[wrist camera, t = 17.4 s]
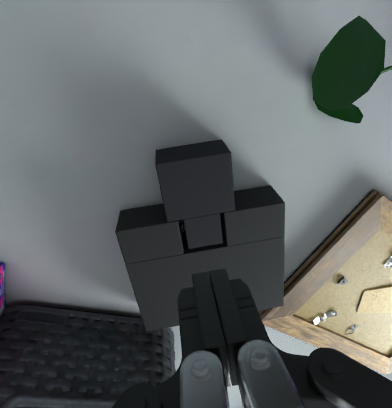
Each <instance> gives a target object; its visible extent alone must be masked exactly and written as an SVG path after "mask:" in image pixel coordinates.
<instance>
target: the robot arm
mask: <svg viewBox="0 0 392 408" xmlns="http://www.w3.org/2000/svg"><path fill="white" fill-rule="evenodd" d="M209 276H210V278H209ZM192 281H193V287H190V288H185V289H181V291H180V293H179V296H178V298H177V303H178V314H179V325H180V336H181V348H182V361H181V364H180V366H179V368H178V370H177V371H176V372H175V373H174V375H173V376H171V377H170V378H169V379H167V380H166V381H164V382H162V383H160V384H159V385H157V386H155V387H154V386H152V385H151V384H148V383H138V384H134V385H132V386H130V387H129V388H128V389H126V390H125V391H124V392H123V393H122V395H121V396H120V397H119V399H118V400H117V401H116V403H115V404H114V405H113V407H112V408H229V400H228V392H227V387H230V379H231V383H232V386H234V385H239V390H240V394H241V398H242V407H243V408H392V381H390V380H389V379H387V378H385V377H383V376H382V375H380V374H378V373H377V372H375V371H373V370H371V369H370V368H368V367H366V366H364V365H363V364H361V363H359V362H357V361H356V360H354V359H352V358H350V357H349V356H347V355H345V354H343V353H342V352H340V351H338V350H335V349H332V348H326V347H324V348H318V349H316V350H314V351H313V352H312V353H311V354H310V356H302V355H294V354H289V353H286V352H283V351H281V350H280V349H278V348H277V347H276V346H274V345H273V343H272V342H271V341H270V339H269V337H268V335H267V332H266V330H265V327H264V325H263V322H262V320H261V317H260V314H259V312H258V309H257V307H256V305H255V302H254V299H253V297H252V294H251V292H250V289H249V287H248V285H247V284H246V283H245V282H244V281H243V280H241V279H240V278H238V279H233V280H229V277H228V274H227V271H226V268H224V269H218V270H213V271H209V274H208V272H203V273H197V274H192ZM228 370H229V371H228ZM229 374H230V379H229Z"/></svg>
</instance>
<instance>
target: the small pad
mask: <svg viewBox="0 0 392 408" xmlns="http://www.w3.org/2000/svg"><path fill="white" fill-rule="evenodd" d="M156 169H157V174H158V179H159V184H160V189H161V194H162V198H163V203H164V208H165V213H166V218H167V222H170V221H176V220H182V219H183V221H184V226H185V232H186V238H187V243H188V248H189V249H191V248H197V247H203V246H209V245H214V244H220V243H223V240H222V230H221V221H220V213H223V212H229V211H234V210H235V200H234V187H233V174H232V161H231V152H230V150H229V149H228V148H227V146H226V145H225V143H224V142H223V141H222V140H215V141H209V142H203V143H197V144H190V145H184V146H178V147H172V148H166V149H159V150H156Z"/></svg>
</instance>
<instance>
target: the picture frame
mask: <svg viewBox="0 0 392 408" xmlns="http://www.w3.org/2000/svg"><path fill="white" fill-rule="evenodd" d="M258 312H259V314H260V317H261V320H262V322H263V325H266V326H268V327H271V328H273V329H275V330H278V331H280V332H283V333H285V334H288V335H290V336H293V337H295V338H298V339H300V340H302V341H305V342H307V343H310V344H312V345H315V346H317V347H320V348H324V347H326V348H332V349H335V350H338V351H340V352H342V353H343V354H345V355H347V356H349V357H350V358H352V359H354V360H356V361H357V362H359V363H361V364H363V365H364V366H366V367H369V368H371V369H374V370H376V371H379V372H381V373H384V374H386V375H388V374H389V373H391V372H392V202H391V201H390V200H389V199H387V198H386V197H385V196H383V195H382V194H380V193H379V192H377V191H376V190H373V191H372V192H371V193H370V195H369V196H368V197H367V198H366V199H365V200H364V201H363V202H362V203H361V204H360V205H359V206H358V207H357V208H356V209H355V210H354V211H353V212H352V213H351V215H350V216H349V217H348V218H347V219H346V220H345V221H344V222H343V223H342V224H341V225H340V226H339V227H338V228H337V229H336V230H335V231H334V232H333V234H332V235H331V236H330V237H329V238H328V239H327V240H326V241H325V242H324V243H323V244H322V245H321V246H320V247H319V248H318V249H317V250H316V251H315V252H314V254H313V255H312V256H311V257H310V258H309V259H308V260H307V261H306V262H305V263H304V264H303V265H302V266H301V267H300V268H299V269H298V270H297V271H296V272H295V274H294V275H293V276H292V277H291V278H290V279H289V280H288V281H287V282H286V283H285V284H284V305H283V306H281V307H276V308H270V309H265V310H260V311H258Z"/></svg>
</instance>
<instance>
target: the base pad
mask: <svg viewBox="0 0 392 408" xmlns="http://www.w3.org/2000/svg"><path fill="white" fill-rule="evenodd" d="M234 200H235V210H234V211H229V212H223V213H220V221H221V230H222V240H223V243H220V244H214V245H209V246H203V247H197V248H191V249H189V248H188V243H187V238H186V232H181V228H180V223H179V220H176V221H170V222H167V218H166V213H165V208H164V204H159V205H153V206H147V207H141V208H135V209H129V210H123V211H120V214H119V219H118V223H117V227H116V231H115V232H116V235H117V239H118V242H119V245H120V248H121V251H122V255H123V258H124V261H125V265H126V268H127V271H128V274H129V278H130V281H131V284H132V287H133V290H134V294H135V297H136V300H137V303H138V306H139V309H140V313H141V316H142V319H143V322H144V325H145V329H146V331H151V330H157V329H162V328H168V327H173V326H178V325H179V314H178V303H177V298H178V296H179V293H180V291H181V289H185V288H190V287H193V281H192V274H197V273H203V272H208V274H209V271H213V270H218V269H224V268H226V271H227V274H228V277H229V280H233V279H238V278H240V279H241V280H243V281H244V282H245V283H246V284H247V285H248V287H249V289H250V292H251V294H252V297H253V299H254V302H255V305H256V307H257V309H258V311H260V310H265V309H270V308H276V307H281V306H283V305H284V225H285V202H284V201H283V200H282V199H281V197H280V196H279V195H278V194H277V193H276V191H275V190H274V189H273V188H272V186H265V187H259V188H253V189H247V190H241V191H235V192H234ZM209 278H210V276H209Z"/></svg>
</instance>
